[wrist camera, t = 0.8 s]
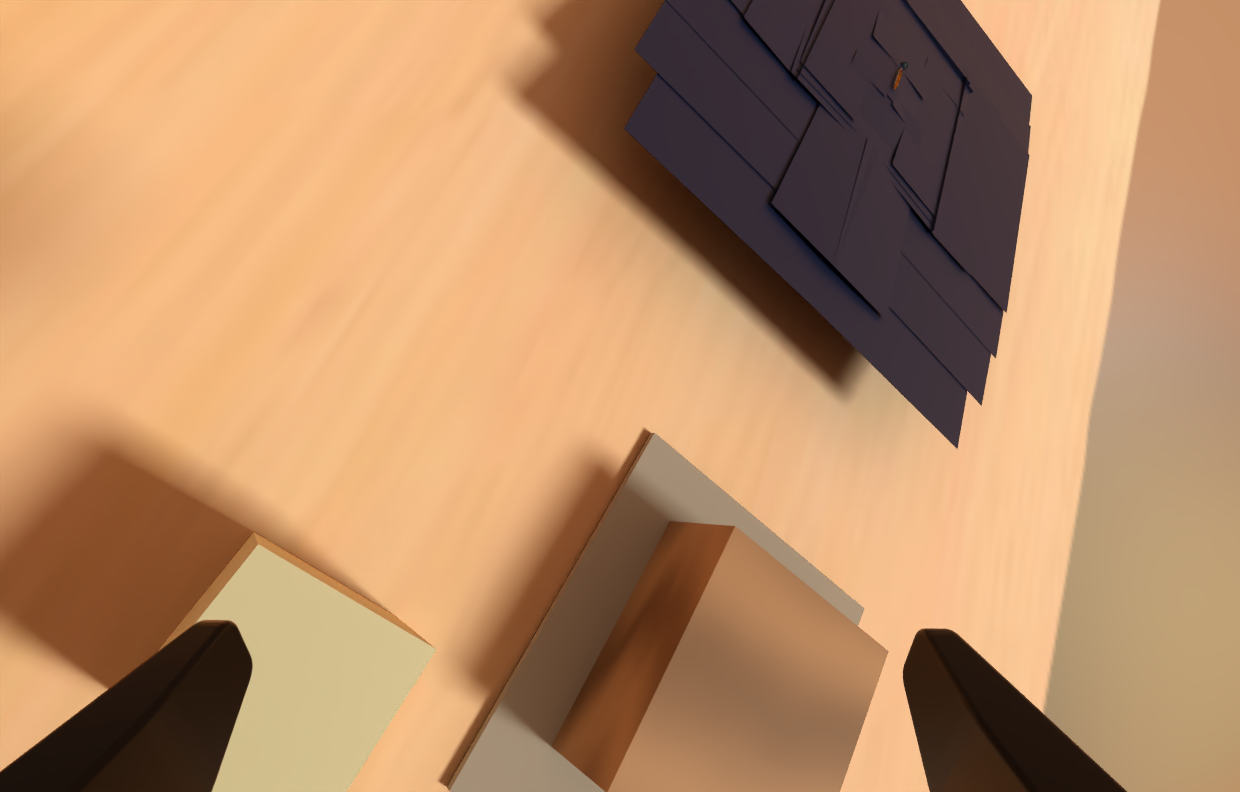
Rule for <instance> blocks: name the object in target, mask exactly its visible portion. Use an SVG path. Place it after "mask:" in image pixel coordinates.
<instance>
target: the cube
mask: <svg viewBox="0 0 1240 792" xmlns="http://www.w3.org/2000/svg"><path fill="white" fill-rule="evenodd" d="M202 620H230V621H232V622H234V623H235V624H236V625H237V627H238V629H239V631H240V633H241V635H242V637H243V640H244V642H245V644H246V646H247V648H248V650H249V653H250V655H251V658H252V663H253V669H252V675H251V679H250V682H249V685H248V688H247V691H246V694H245V697H244V700H243V702H242V705H241V708H240V711H239V714H238V717H237V720H236V723H235V726H234V729H233V732H232V735H231V738H230V741H229V744H228V747H227V750H226V753H225V756H224V758H223V761H222V764H221V767H220V770H219V773H218V776H217V779H216V782H215V784H214V787H213V790H212V792H347V790H348V789H349V787H350V786H351V784H352V782H353V781H354V779H355V778H356V776H357V774H358V773H359V771H360V770H361V768H362V767H363V765H364V763H365V762H366V760H367V759H368V757H369V755H370V754H371V752H372V751H373V749H374V748H375V746H376V744H377V743H378V741H379V740H380V738H381V736H382V735H383V733H384V732H385V730H386V729H387V727H388V725H389V724H390V722H391V721H392V719H393V717H394V716H395V714H396V713H397V711H398V710H399V708H400V706H401V705H402V703H403V702H404V700H405V698H406V697H407V695H408V694H409V692H410V691H411V689H412V687H413V686H414V684H415V683H416V681H417V679H418V678H419V676H420V675H421V673H422V672H423V670H424V668H425V667H426V665H427V664H428V662H429V660H430V659H431V657H432V656H433V654H434V653H435V651H436V648H434V647H433V646H432V645H431V644H429V643H428V642H427V641H426V640H424V639H423V638H422V637H421V636H420V635H418V634H417V633H416V632H415V631H413V630H412V629H411V628H410V627H408V626H407V625H406V624H405V623H404V622H402V621H401V620H400V619H399V618H397V617H396V616H394V615H393V614H391V613H389V612H388V611H386V610H384V609H383V608H381V607H379V606H378V605H376V604H374V603H373V602H371V601H369V600H367V599H366V598H364V597H362V596H361V595H359V594H357V593H356V592H354V591H352V590H351V589H349V588H347V587H346V586H344V585H342V584H341V583H339V582H337V581H336V580H334V579H332V578H330V577H329V576H327V575H325V574H324V573H322V572H320V571H319V570H317V569H315V568H314V567H312V566H310V565H309V564H307V563H305V562H304V561H302V560H300V559H299V558H297V557H295V556H293V555H292V554H290V553H288V552H287V551H285V550H283V549H282V548H280V547H278V546H277V545H275V544H273V543H272V542H270V541H268V540H267V539H265V538H263V537H261V536H260V535H258V534H256V533H255V532H253V534H252V535H251V536H250V537H249V539H248V540H247V541H246V542H245V543H244V545H243V546H242V547H241V548H240V550H239V551H238V552H237V553H236V555H235V556H234V557H233V558H232V560H231V561H230V562H229V563H228V564H227V566H226V567H225V568H224V569H223V571H222V572H221V573H220V574H219V576H218V577H217V578H216V579H215V581H214V582H213V583H212V584H211V586H210V587H209V588H208V589H207V590H206V592H205V593H204V594H203V595H202V597H201V598H200V599H199V600H198V602H197V603H196V604H195V605H194V607H193V608H192V609H191V610H190V611H189V613H188V614H187V615H186V616H185V618H184V619H183V620H182V621H181V623H180V624H179V625H178V626H177V628H176V629H175V630H174V631H173V633H172V634H171V635H170V636H169V637H168V639H167V640H166V641H165V642H164V644H163V645H162V646H161V647H160V649H162V648H163V647H164V646H166V645H167V644H168V643H170V642H171V641H172V640H174V639H175V638H176V637H177V636H179V635H180V634H181V633H183V632H184V631H185V630H187V629H188V628H189V627H191V626H192V625H194V624H195V623H197V622H199V621H202ZM160 649H159V650H160ZM159 650H158V651H159ZM158 651H157V652H158ZM157 652H156V653H157Z"/></svg>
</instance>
